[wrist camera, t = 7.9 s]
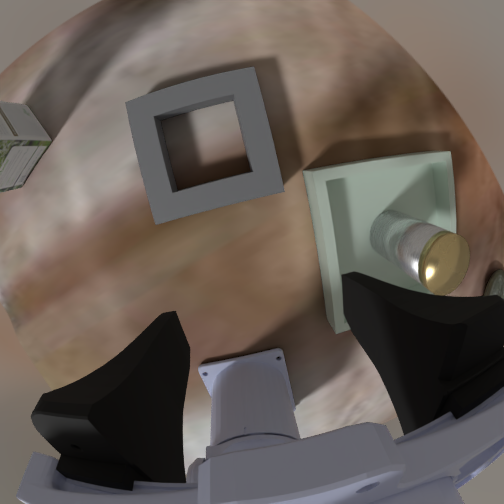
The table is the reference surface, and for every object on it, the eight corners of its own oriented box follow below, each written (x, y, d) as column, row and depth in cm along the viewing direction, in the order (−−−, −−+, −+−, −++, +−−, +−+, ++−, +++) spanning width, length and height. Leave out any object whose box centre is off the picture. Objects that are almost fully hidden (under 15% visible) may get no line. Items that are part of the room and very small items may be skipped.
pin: (409, 248, 22) (468, 283, 15) (372, 261, 22) (426, 304, 15) (405, 205, 21) (469, 227, 13) (366, 216, 21) (425, 245, 13)
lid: (451, 315, 26) (476, 336, 21) (494, 251, 24) (522, 264, 19) (472, 346, 29) (492, 365, 24) (510, 293, 27) (531, 307, 22)
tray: (438, 279, 24) (453, 289, 22) (326, 319, 24) (335, 334, 22) (433, 150, 20) (450, 151, 18) (302, 170, 20) (312, 171, 18)
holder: (279, 189, 20) (284, 191, 18) (162, 219, 20) (155, 224, 18) (251, 75, 18) (253, 66, 16) (134, 107, 18) (125, 102, 16)
